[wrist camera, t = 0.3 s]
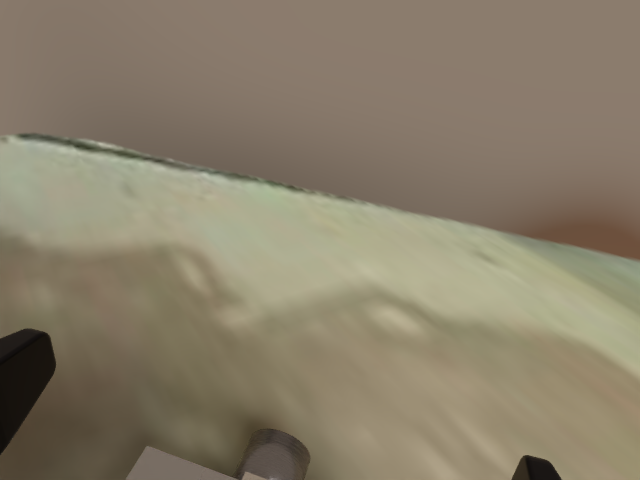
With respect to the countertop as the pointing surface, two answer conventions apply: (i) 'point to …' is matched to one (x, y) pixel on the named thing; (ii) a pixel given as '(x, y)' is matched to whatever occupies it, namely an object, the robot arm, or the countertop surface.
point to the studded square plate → (252, 471)
